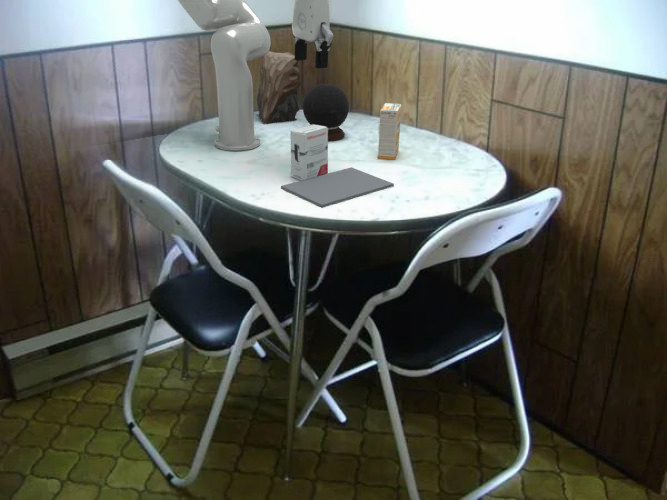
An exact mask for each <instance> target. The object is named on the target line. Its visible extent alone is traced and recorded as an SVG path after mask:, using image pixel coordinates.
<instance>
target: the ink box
mask: <svg viewBox="0 0 667 500" xmlns="http://www.w3.org/2000/svg"><path fill="white" fill-rule="evenodd" d="M290 169H291V170H290V171H291V173H290V174H291V176H290V177H291V178H292V179H293V178H294V179H296V180H299V181H301V180H305V179H309V178H313V177H317V176H320V175H324V174H328V173H329V142H328V128H327V127H325V126H320V125H314V124H313V125H310V124H309V125H307V126H303V127H300V128H295V129H292V130H290Z"/></svg>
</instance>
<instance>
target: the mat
mask: <svg viewBox="0 0 667 500" xmlns="http://www.w3.org/2000/svg"><path fill="white" fill-rule="evenodd" d="M394 184H395V183H393V182H390V181H388V180H385V179H384V178H383V179H382V178H380V177H377V176H375V175H373V174H370V173H368V172H365V171H362V170H360V169H357V168H355V167H348V168H343V169H340V170H337V171H333V172H328V173H327V174H324V175H320V176H317V177H313V178H309V179H305V180H299V181H295V182H290V183H287V184H283V185H281V186H280V189H282V190H284V191H286V192H288V193H290V194H293V195H295V196H297V197H298V198H300V199H303V200H305V201H307V202H310V203H311V204H313V205H316V206H318V207H320V208H325V207H328V206H332V205H335V204H338V203H341V202H346V201H348V200H351V199H354V198H359V197H362V196H365V195H369V194H371V193H374V192H378V191H381V190H385V189H389V188H392V187H394Z"/></svg>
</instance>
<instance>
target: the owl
mask: <svg viewBox="0 0 667 500" xmlns="http://www.w3.org/2000/svg"><path fill="white" fill-rule="evenodd" d="M299 68H300V67H299V61H296V60H295V54H293V53H291V52H288V51H287V52H273V51H271V50H269V51H268V52H267V53H266V54H265V55H264V56H262V60H261V64H260V67H259V82H260V83H259V84H258V86H259V87H258V89H257V95H256V104H257V108H258V112H259V113H258V116H259V118H260V121H261V122H262V124H263V125H269V124H277V123H287V122H295V121H297V120H298V119H297V118H296V116H297V113H298V112H299V111H300V105H299V95H298V93H299V89H300V87H301V79H300V69H299Z"/></svg>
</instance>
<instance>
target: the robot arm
mask: <svg viewBox="0 0 667 500" xmlns="http://www.w3.org/2000/svg"><path fill="white" fill-rule="evenodd" d="M177 1H178V2H179V4H180V6H181V7H182V8H183V9H184V10H185V12H186V14H188V16H189V17H190V18H191V19H192V21H193V23H195V24H196V25H197V26H198V28H200V29H201V30H202V31H205V32H214V33H213V34H212V35H211V40H210V51H211V56H212V59H213V64H214V69H215V70H214V71H215V78H216V93H217V109H218V110H217V111H218V126H215V131H216V132H218V137H217V138H215V139H214V140H213V143H214V147H216V148H217V149H220V150H224V151H232V152H234V151H235V152H237V151H249V150H252V149H255V148H259V146H260V145H261V139H260V138H259V137H258V136H255V115H254V114H255V111H254V108H255V107H254V86H253V85H254V83H253V76H252V73H251V70H250V68H249V66H248V63H247V62H248V61H252V60H256V59H259V58H263V56H264V55H265V54H266V53H267V52H268V51H270V48H271V43H272V42H271V36H270V32H269V31H268V29H267V27H266V25H264V23H263V22H262V20H261V19H260V18H259V17H258V15H257V14H256V13H255V12H254V10H253V9H252V8H251V7H250V5H249V4H248V2H247V1H246V0H177ZM329 2H330V1H329V0H294V5H293V13H292V15H293V16H292V23H291V30H292V36H293V44H294V55H295V60H296V61H298V62H299V61H306V60H307V59H308V43H307V42H309V43H312V42H314V44H315V46H316V47H315V48H316V51H315V61H314V62H315V64H314V65H315V67H314V68H315V69H326V68H327V69H328V67H329V65H328V64H329V52H330V50H331V49H330V48H331V46H332V42H333V39H334V33H333V32H332V30H331V29H330V4H329Z"/></svg>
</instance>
